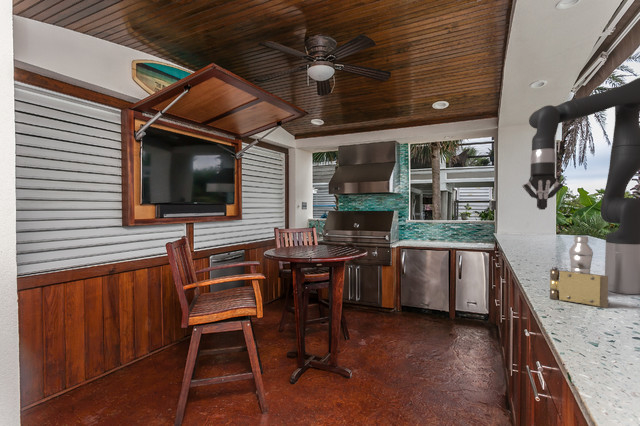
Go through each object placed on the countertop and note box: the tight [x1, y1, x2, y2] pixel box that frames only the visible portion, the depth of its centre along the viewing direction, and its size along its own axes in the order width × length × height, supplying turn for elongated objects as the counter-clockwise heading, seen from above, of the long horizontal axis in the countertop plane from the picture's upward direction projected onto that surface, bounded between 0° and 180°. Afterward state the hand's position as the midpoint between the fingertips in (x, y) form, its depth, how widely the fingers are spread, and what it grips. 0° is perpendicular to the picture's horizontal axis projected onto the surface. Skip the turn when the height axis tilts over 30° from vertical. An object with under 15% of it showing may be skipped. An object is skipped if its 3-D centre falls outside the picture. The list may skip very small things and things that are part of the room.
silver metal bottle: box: [568, 235, 594, 274], centre depth 111 cm, size 6×7×20 cm
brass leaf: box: [549, 270, 601, 307], centre depth 102 cm, size 12×3×9 cm, turn 46°
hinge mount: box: [549, 266, 610, 309], centre depth 104 cm, size 8×14×10 cm, turn 46°
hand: (541, 209), depth 120 cm, fingers closed
